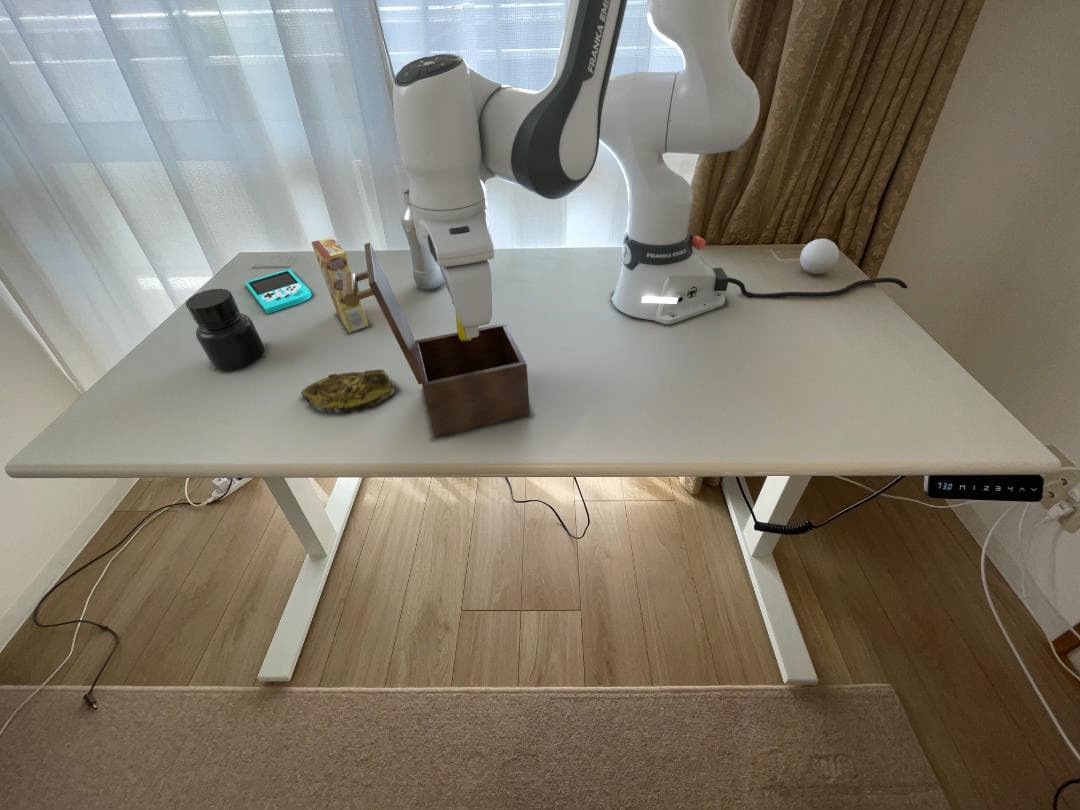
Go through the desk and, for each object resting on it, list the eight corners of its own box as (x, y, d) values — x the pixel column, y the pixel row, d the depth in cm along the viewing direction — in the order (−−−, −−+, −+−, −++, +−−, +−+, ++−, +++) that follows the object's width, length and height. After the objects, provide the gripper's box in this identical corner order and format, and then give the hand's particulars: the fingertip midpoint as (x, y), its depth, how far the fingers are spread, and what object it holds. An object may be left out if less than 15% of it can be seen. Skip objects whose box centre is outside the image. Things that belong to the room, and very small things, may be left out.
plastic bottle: (451, 282, 108) (436, 188, 95) (431, 296, 104) (412, 199, 91) (430, 276, 111) (412, 184, 98) (409, 288, 107) (387, 194, 94)
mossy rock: (298, 422, 77) (395, 411, 78) (286, 402, 73) (387, 391, 74) (309, 380, 83) (398, 371, 84) (298, 360, 80) (392, 350, 81)
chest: (510, 372, 83) (505, 322, 77) (529, 415, 75) (526, 364, 69) (424, 390, 80) (412, 340, 74) (434, 438, 72) (422, 386, 65)
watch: (475, 347, 67) (469, 309, 63) (454, 347, 67) (448, 309, 63) (479, 324, 72) (474, 287, 68) (460, 324, 72) (454, 287, 68)
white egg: (838, 279, 104) (851, 246, 100) (803, 280, 105) (815, 247, 100) (817, 259, 112) (829, 227, 107) (785, 260, 112) (795, 228, 107)
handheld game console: (266, 314, 100) (263, 308, 99) (245, 286, 110) (243, 281, 109) (314, 298, 105) (312, 292, 104) (290, 273, 114) (288, 267, 114)
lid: (370, 242, 63) (333, 254, 63) (375, 281, 55) (333, 295, 54) (414, 337, 74) (383, 348, 73) (424, 382, 65) (390, 395, 65)
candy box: (369, 326, 96) (347, 251, 86) (348, 333, 94) (322, 258, 84) (355, 308, 101) (333, 235, 91) (335, 314, 100) (309, 241, 89)
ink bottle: (257, 337, 94) (229, 279, 86) (276, 355, 89) (248, 296, 81) (203, 358, 89) (168, 300, 81) (220, 379, 84) (184, 319, 76)
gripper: (415, 198, 66) (432, 291, 75) (438, 260, 51) (457, 366, 60) (461, 192, 67) (473, 284, 76) (497, 250, 52) (506, 356, 61)
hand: (466, 321), depth 68 cm, fingers closed on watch, 6 cm apart
